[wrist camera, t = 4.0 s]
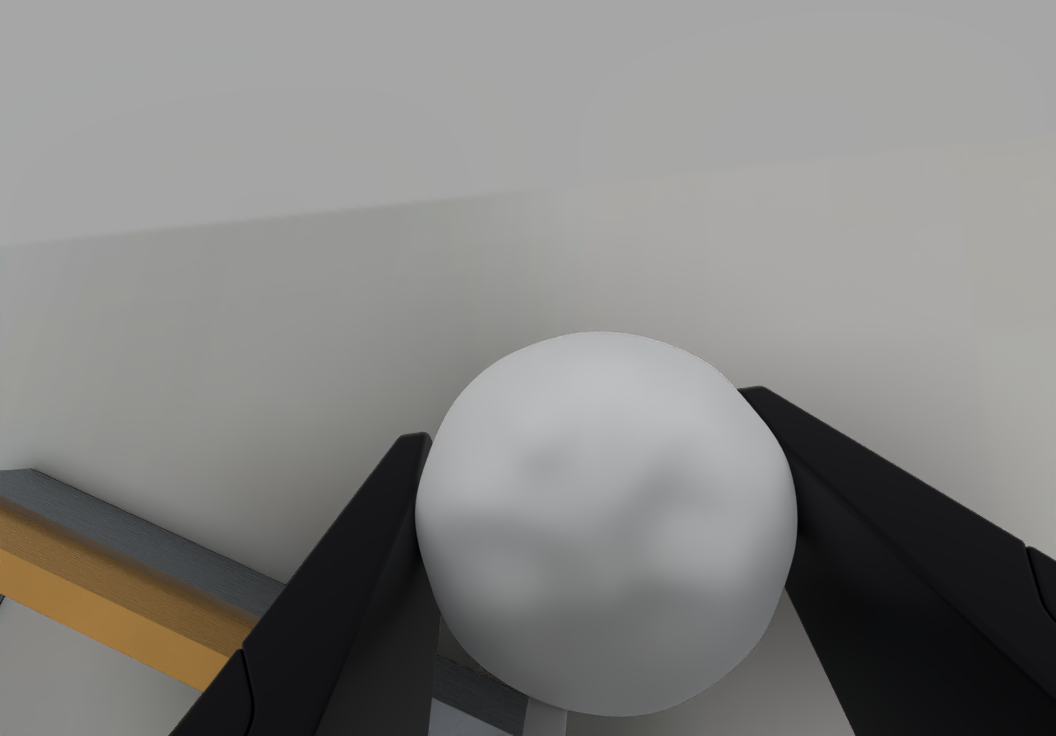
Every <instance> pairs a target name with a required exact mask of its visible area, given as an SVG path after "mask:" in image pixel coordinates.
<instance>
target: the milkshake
mask: <svg viewBox="0 0 1056 736" xmlns="http://www.w3.org/2000/svg"><path fill="white" fill-rule="evenodd" d="M415 525H416V533H417V539H418V544H419V548H420V552H421V556H422V560H423V563H424V566H425V569H426V572H427V576H428V579H429V582H430V585H431V588H432V592H433V595H434V597H435V600H436V603H437V605H438V608H439V610H440V612H441V614H442V617H443V619H444V621H445V623H446V624H447V626H448V628H449V630H450V631H451V633H452V634H453V636H454V637H455V638H456V640H457V641H458V643H459V644H460V645H461V646H462V647H463V649H464V650H465V651H466V652H467V653H468V654H469V655H470V656H471V657H472V658H473V659H474V660H475V661H476V662H477V663H479V664H480V665H481V666H482V667H483V668H485V669H486V670H487V671H488V672H490V673H491V674H492V675H494V676H495V677H497V678H498V679H500V680H501V681H503V682H504V683H506V684H508V685H509V686H511V687H513V688H515V689H517V690H518V691H520V692H522V693H524V694H526V695H528V696H529V699H528V704H527V709H526V714H525V719H524V724H523V729H522V735H521V736H565V732H566V723H567V714H568V710H570V711H575V712H580V713H586V714H592V715H601V716H616V717H626V716H640V715H647V714H651V713H656V712H659V711H663V710H666V709H669V708H671V707H674V706H676V705H678V704H680V703H683V702H685V701H687V700H689V699H690V698H692V697H694V696H696V695H698V694H699V693H701V692H703V691H704V690H706V689H707V688H709V687H710V686H712V685H713V684H715V683H716V682H718V681H719V680H720V679H722V678H723V677H724V676H726V675H727V674H728V673H729V672H730V671H732V670H733V669H734V668H735V667H736V666H737V665H738V664H739V663H740V662H741V661H742V660H743V659H744V658H745V657H746V656H747V655H748V654H749V653H750V652H751V651H752V650H753V649H754V647H755V646H756V645H757V644H758V642H759V641H760V640H761V638H762V636H763V635H764V633H765V632H766V630H767V628H768V626H769V624H770V622H771V620H772V618H773V615H774V613H775V610H776V608H777V605H778V603H779V600H780V597H781V594H782V592H783V589H784V586H785V583H786V580H787V576H788V573H789V570H790V566H791V563H792V559H793V555H794V550H795V545H796V537H797V502H796V494H795V488H794V483H793V478H792V474H791V470H790V467H789V464H788V461H787V459H786V457H785V454H784V452H783V450H782V448H781V446H780V445H779V443H778V441H777V440H776V438H775V436H774V435H773V433H772V432H771V431H770V429H769V428H768V426H767V425H766V424H765V423H764V421H763V420H762V419H761V418H760V417H759V415H758V414H757V413H756V412H755V410H754V409H753V408H752V407H751V406H750V404H749V403H748V402H747V401H746V400H745V399H744V397H743V396H742V395H741V394H740V393H739V392H738V391H737V389H736V388H735V387H734V386H733V385H732V384H731V383H730V382H729V381H728V380H727V379H726V378H725V377H724V376H723V375H722V374H721V373H720V372H719V371H718V370H716V369H715V368H714V367H713V366H711V365H710V364H708V363H707V362H705V361H704V360H702V359H700V358H698V357H697V356H695V355H693V354H691V353H689V352H687V351H684V350H682V349H680V348H677V347H675V346H672V345H670V344H667V343H664V342H661V341H658V340H654V339H651V338H647V337H643V336H638V335H633V334H626V333H618V332H600V331H597V332H581V333H573V334H568V335H563V336H558V337H554V338H551V339H547V340H544V341H541V342H538V343H535V344H532V345H529V346H527V347H524V348H522V349H519V350H517V351H515V352H513V353H511V354H509V355H507V356H505V357H503V358H502V359H500V360H498V361H497V362H495V363H494V364H492V365H491V366H489V367H488V368H487V369H485V370H484V371H483V372H482V373H480V374H479V375H478V376H477V377H476V378H475V379H474V380H473V381H472V382H471V383H470V384H469V385H468V386H467V387H466V388H465V389H464V390H463V391H462V393H461V394H460V395H459V396H458V398H457V399H456V400H455V402H454V403H453V404H452V406H451V408H450V409H449V411H448V412H447V414H446V416H445V418H444V420H443V422H442V423H441V426H440V428H439V430H438V432H437V434H436V437H435V439H434V442H433V444H432V447H431V449H430V452H429V455H428V458H427V461H426V463H425V466H424V469H423V473H422V476H421V479H420V483H419V487H418V492H417V498H416V506H415Z"/></svg>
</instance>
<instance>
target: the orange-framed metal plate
mask: <svg viewBox="0 0 1056 736" xmlns="http://www.w3.org/2000/svg"><path fill="white" fill-rule="evenodd" d="M285 586H286V585H284V584H282V583H279V582H277V581H275V580H273V579H271V578H268V577H266V576H264V575H262V574H260V573H258V572H255V571H253V570H251V569H249V568H247V567H245V566H242V565H240V564H238V563H236V562H234V561H231V560H229V559H227V558H225V557H223V556H221V555H218V554H216V553H214V552H212V551H210V550H207V549H205V548H203V547H201V546H199V545H197V544H194V543H192V542H190V541H188V540H186V539H184V538H181V537H179V536H177V535H175V534H173V533H170V532H168V531H166V530H164V529H162V528H160V527H157V526H155V525H153V524H151V523H149V522H146V521H144V520H142V519H140V518H138V517H136V516H133V515H131V514H129V513H127V512H125V511H123V510H120V509H118V508H116V507H114V506H112V505H109V504H107V503H105V502H103V501H101V500H99V499H96V498H94V497H92V496H90V495H88V494H86V493H83V492H81V491H79V490H77V489H75V488H72V487H70V486H68V485H66V484H64V483H62V482H59V481H57V480H55V479H53V478H51V477H48V476H46V475H44V474H42V473H40V472H38V471H35V470H33V469H18V470H2V471H0V603H1V601H2V599H3V597H4V596H6V597H9V598H11V599H13V600H15V601H17V602H19V603H21V604H23V605H25V606H27V607H29V608H31V609H33V610H35V611H37V612H39V613H41V614H44V615H46V616H48V617H50V618H52V619H54V620H56V621H58V622H60V623H62V624H64V625H66V626H68V627H70V628H72V629H74V630H76V631H78V632H81V633H83V634H85V635H87V636H89V637H91V638H93V639H95V640H97V641H99V642H101V643H103V644H105V645H107V646H109V647H111V648H113V649H116V650H118V651H120V652H122V653H124V654H126V655H128V656H130V657H132V658H134V659H136V660H138V661H140V662H142V663H144V664H146V665H148V666H150V667H153V668H155V669H157V670H159V671H161V672H163V673H165V674H167V675H169V676H171V677H173V678H175V679H177V680H179V681H181V682H183V683H185V684H188V685H190V686H192V687H194V688H196V689H198V690H200V691H202V692H204V691H205V689H206V688H207V687H208V686H209V684H210V683H211V682H212V681H213V679H214V678H215V677H216V675H217V674H218V673H219V672H220V670H221V669H222V668H223V666H224V665H225V664H226V662H227V661H228V660H229V658H230V657H231V656H232V655H233V653H234V652H235V651H236V650H237V649H242V642H243V640H244V639H245V638H246V637H247V635H248V634H249V633H250V631H251V630H252V629H253V627H254V626H255V625H256V623H257V622H258V621H259V620H260V618H261V617H262V616H263V614H264V613H265V612H266V610H267V609H268V608H269V606H270V605H271V604H272V603H273V601H274V600H275V599H276V597H277V596H278V595H279V593H280V592H281V591H282V589H283V588H284V587H285ZM528 699H529V697H528V696H525V695H523V694H521V693H519V692H517V691H515V690H512V689H510V688H508V687H506V686H504V685H501V684H499V683H497V682H495V681H493V680H491V679H488V678H486V677H484V676H482V675H480V674H478V673H475V672H473V671H471V670H469V669H467V668H464V667H462V666H460V665H458V664H456V663H454V662H451V661H449V660H447V659H445V658H443V657H441V656H438V655H436V663H435V673H434V683H433V693H432V703H431V712H430V722H429V732H428V736H521V735H522V729H523V724H524V719H525V714H526V709H527V704H528Z"/></svg>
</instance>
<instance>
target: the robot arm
mask: <svg viewBox="0 0 1056 736" xmlns="http://www.w3.org/2000/svg"><path fill="white" fill-rule="evenodd" d="M737 391H738V392H739V393H740V394H741V395H742V396H743V397H744V399H745V400H746V401H747V402H748V403H749V404H750V406H751V407H752V408H753V409H754V410H755V412H756V413H757V414H758V415H759V417H760V418H761V419H762V420H763V421H764V423H765V424H766V425H767V426H768V428H769V429H770V431H771V432H772V433H773V435H774V436H775V438H776V440H777V441H778V443H779V445H780V446H781V448H782V450H783V452H784V454H785V457H786V459H787V461H788V464H789V467H790V470H791V474H792V478H793V483H794V488H795V494H796V502H797V537H796V545H795V550H794V555H793V559H792V563H791V566H790V570H789V573H788V576H787V580H786V583H785V586H784V587H785V589H786V591H787V593H788V595H789V597H790V600H791V602H792V604H793V606H794V608H795V610H796V612H797V614H798V616H799V618H800V620H801V623H802V625H803V627H804V629H805V631H806V633H807V635H808V637H809V639H810V641H811V643H812V646H813V648H814V650H815V652H816V654H817V656H818V658H819V660H820V662H821V664H822V667H823V669H824V671H825V673H826V675H827V677H828V679H829V681H830V683H831V685H832V687H833V690H834V692H835V694H836V696H837V698H838V700H839V702H840V704H841V706H842V708H843V710H844V713H845V715H846V717H847V719H848V721H849V723H850V725H851V727H852V729H853V731H854V733H855V736H1056V560H1054V559H1052V558H1051V557H1049V556H1047V555H1046V554H1044V553H1042V552H1041V551H1039V550H1037V549H1036V548H1034V547H1031V546H1028V547H1026V546H1025V544H1024V542H1023V541H1022V540H1020V539H1018V538H1017V537H1015V536H1013V535H1012V534H1010V533H1008V532H1007V531H1005V530H1003V529H1002V528H1000V527H998V526H997V525H995V524H993V523H992V522H990V521H988V520H987V519H985V518H983V517H982V516H980V515H978V514H977V513H975V512H973V511H972V510H970V509H968V508H967V507H965V506H963V505H961V504H960V503H958V502H956V501H955V500H953V499H951V498H950V497H948V496H946V495H945V494H943V493H941V492H940V491H938V490H936V489H935V488H933V487H931V486H930V485H928V484H926V483H925V482H923V481H921V480H920V479H918V478H916V477H915V476H913V475H911V474H910V473H908V472H906V471H905V470H903V469H901V468H900V467H898V466H896V465H895V464H893V463H891V462H890V461H888V460H886V459H885V458H883V457H881V456H880V455H878V454H876V453H875V452H873V451H871V450H869V449H868V448H866V447H864V446H863V445H861V444H859V443H858V442H856V441H854V440H853V439H851V438H849V437H848V436H846V435H844V434H843V433H841V432H839V431H838V430H836V429H834V428H833V427H831V426H829V425H828V424H826V423H824V422H823V421H821V420H819V419H818V418H816V417H814V416H813V415H811V414H809V413H808V412H806V411H804V410H803V409H801V408H799V407H798V406H796V405H794V404H793V403H791V402H789V401H788V400H786V399H784V398H783V397H781V396H779V395H778V394H776V393H774V392H772V391H771V390H769V389H767V388H765V387H763V386H753V387H746V388H739V389H737ZM432 444H433V443H432V440H431V437H430V436H429V434H428V433H426V432H419V433H412V434H404V435H402V436H400V437H399V438H398V439H397V440H396V442H395V443H394V444H393V445H392V447H391V448H390V449H389V451H388V452H387V453H386V455H385V456H384V457H383V459H382V460H381V461H380V462H379V464H378V465H377V466H376V468H375V469H374V470H373V472H372V473H371V474H370V476H369V477H368V478H367V479H366V481H365V482H364V483H363V485H362V486H361V487H360V489H359V490H358V491H357V493H356V494H355V495H354V497H353V498H352V499H351V500H350V502H349V503H348V504H347V506H346V507H345V508H344V510H343V511H342V512H341V514H340V515H339V516H338V517H337V519H336V520H335V521H334V523H333V524H332V525H331V527H330V528H329V529H328V531H327V532H326V533H325V534H324V536H323V537H322V538H321V540H320V541H319V542H318V544H317V545H316V546H315V548H314V549H313V550H312V551H311V553H310V554H309V555H308V557H307V558H306V559H305V561H304V562H303V563H302V565H301V566H300V567H299V568H298V570H297V571H296V572H295V574H294V575H293V576H292V578H291V579H290V580H289V582H288V583H287V584H286V586H285V587H284V588H283V589H282V591H281V592H280V593H279V595H278V596H277V597H276V599H275V600H274V601H273V603H272V604H271V605H270V606H269V608H268V609H267V610H266V612H265V613H264V614H263V616H262V617H261V618H260V620H259V621H258V622H257V623H256V625H255V626H254V627H253V629H252V630H251V631H250V633H249V634H248V635H247V637H246V638H245V639H244V640H243V642H242V649H237V650H236V651H235V652H234V653H233V655H232V656H231V657H230V658H229V660H228V661H227V662H226V664H225V665H224V666H223V668H222V669H221V670H220V672H219V673H218V674H217V675H216V677H215V678H214V679H213V681H212V682H211V683H210V684H209V686H208V687H207V688H206V689H205V691H204V692H203V693H202V694H201V696H200V697H199V698H198V700H197V701H196V702H195V703H194V705H193V706H192V707H191V708H190V710H189V711H188V712H187V713H186V715H185V716H184V717H183V718H182V720H181V721H180V722H179V723H178V725H177V726H176V727H175V728H174V730H173V731H172V732H171V733H170V734H169V735H168V736H428V732H429V722H430V712H431V703H432V693H433V683H434V673H435V663H436V653H437V644H438V634H439V624H440V614H441V612H440V610H439V608H438V605H437V603H436V600H435V597H434V595H433V592H432V588H431V585H430V582H429V579H428V576H427V572H426V569H425V566H424V563H423V560H422V556H421V552H420V548H419V544H418V539H417V533H416V525H415V506H416V498H417V492H418V487H419V483H420V479H421V476H422V473H423V469H424V466H425V463H426V461H427V458H428V455H429V452H430V449H431V447H432Z"/></svg>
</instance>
